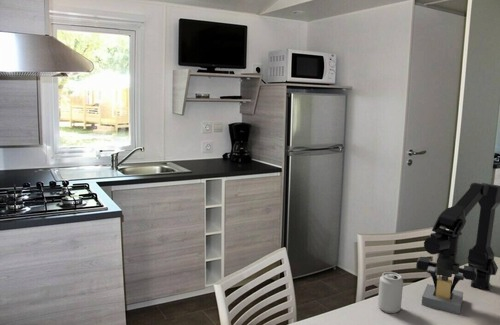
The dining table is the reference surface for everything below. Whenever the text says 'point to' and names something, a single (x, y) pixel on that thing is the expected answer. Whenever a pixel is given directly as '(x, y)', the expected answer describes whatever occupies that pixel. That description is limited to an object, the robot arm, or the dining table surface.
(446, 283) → the plug
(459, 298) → the socket
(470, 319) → the dining table surface
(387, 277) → the can
